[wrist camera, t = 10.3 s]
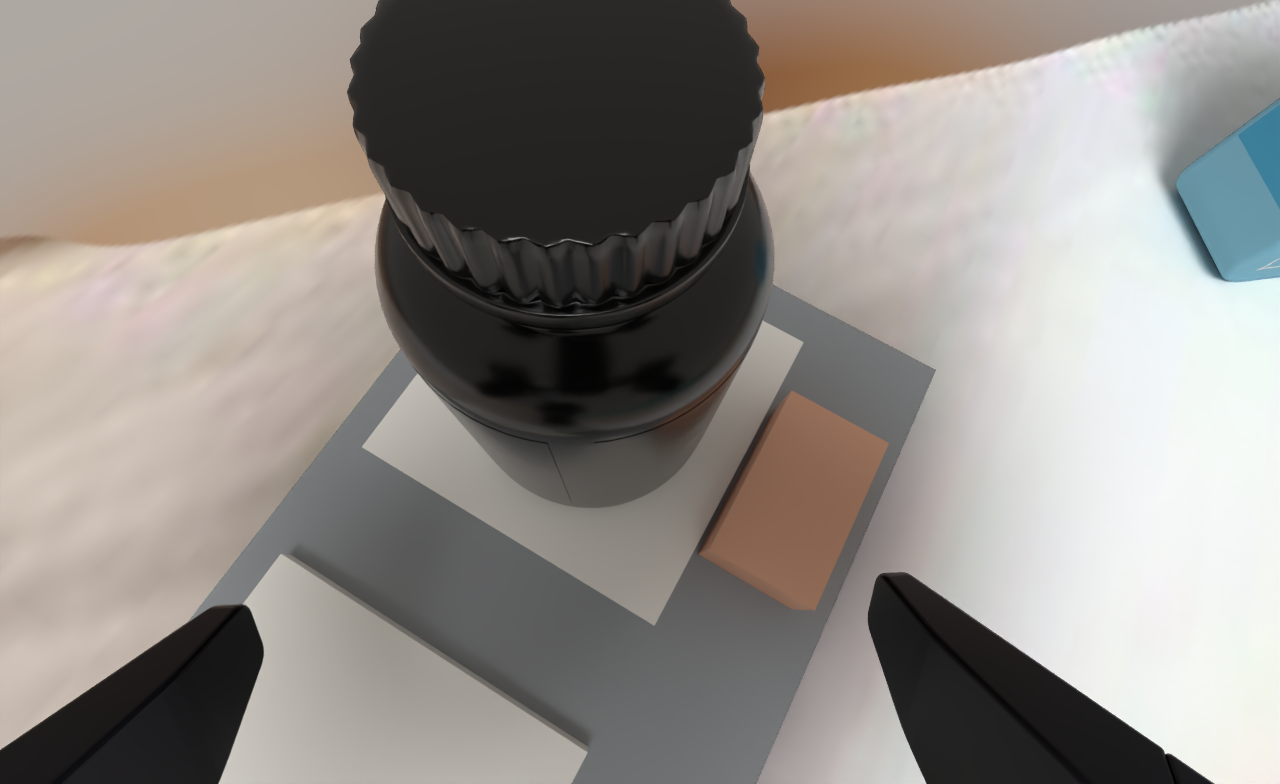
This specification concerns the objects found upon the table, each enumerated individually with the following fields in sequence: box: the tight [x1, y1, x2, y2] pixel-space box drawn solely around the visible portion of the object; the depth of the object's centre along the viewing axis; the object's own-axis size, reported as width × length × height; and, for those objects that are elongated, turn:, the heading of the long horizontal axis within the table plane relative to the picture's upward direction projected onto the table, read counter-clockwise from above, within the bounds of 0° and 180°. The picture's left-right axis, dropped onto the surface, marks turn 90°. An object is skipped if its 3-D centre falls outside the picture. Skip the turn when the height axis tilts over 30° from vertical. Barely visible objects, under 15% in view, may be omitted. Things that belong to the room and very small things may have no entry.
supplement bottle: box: [347, 0, 774, 508], centre depth 13 cm, size 7×7×12 cm
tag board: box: [188, 285, 936, 784], centre depth 16 cm, size 15×26×4 cm, turn 150°
